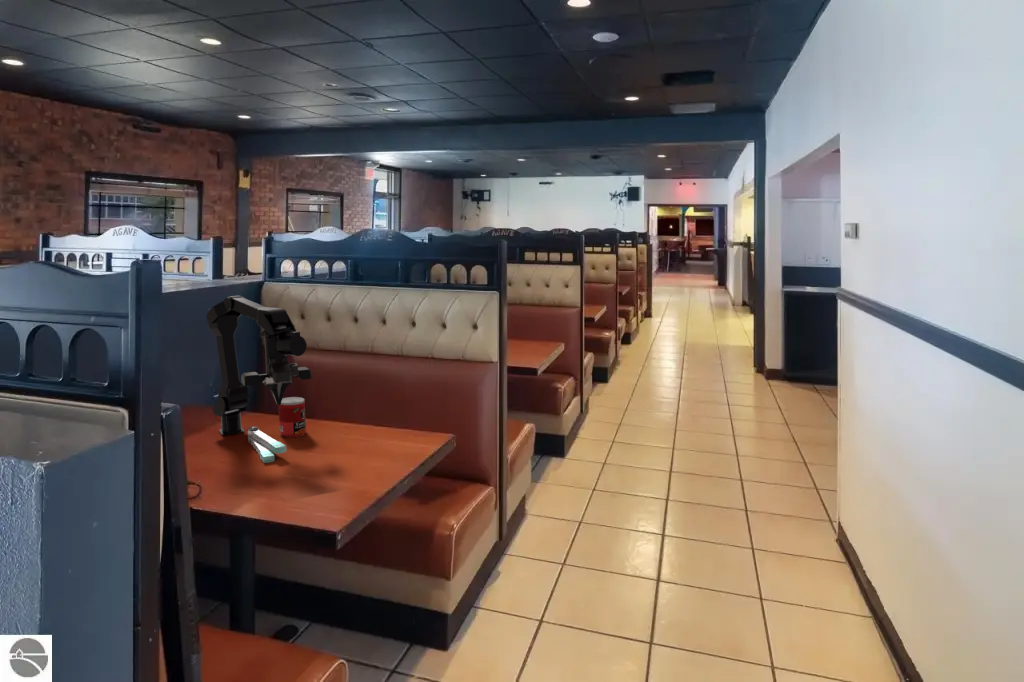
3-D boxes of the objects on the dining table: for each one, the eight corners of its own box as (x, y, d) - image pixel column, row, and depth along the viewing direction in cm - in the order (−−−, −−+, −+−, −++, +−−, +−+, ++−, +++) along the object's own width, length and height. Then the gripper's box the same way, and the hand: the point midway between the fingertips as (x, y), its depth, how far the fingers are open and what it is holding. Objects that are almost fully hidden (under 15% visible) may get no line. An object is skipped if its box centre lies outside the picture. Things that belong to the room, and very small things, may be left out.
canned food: (298, 438, 197) (296, 403, 195) (274, 436, 198) (272, 402, 197) (310, 431, 204) (309, 397, 202) (288, 429, 206) (286, 396, 204)
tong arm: (246, 435, 193) (245, 427, 193) (257, 433, 195) (256, 425, 195) (275, 454, 176) (275, 445, 176) (287, 451, 178) (286, 443, 178)
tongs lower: (247, 441, 194) (247, 435, 193) (258, 439, 195) (258, 433, 195) (263, 463, 175) (262, 457, 175) (275, 461, 177) (274, 455, 176)
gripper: (246, 360, 174) (250, 415, 176) (316, 353, 183) (318, 406, 186) (239, 353, 183) (242, 406, 185) (305, 348, 193) (308, 398, 195)
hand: (278, 404), depth 188 cm, fingers closed
